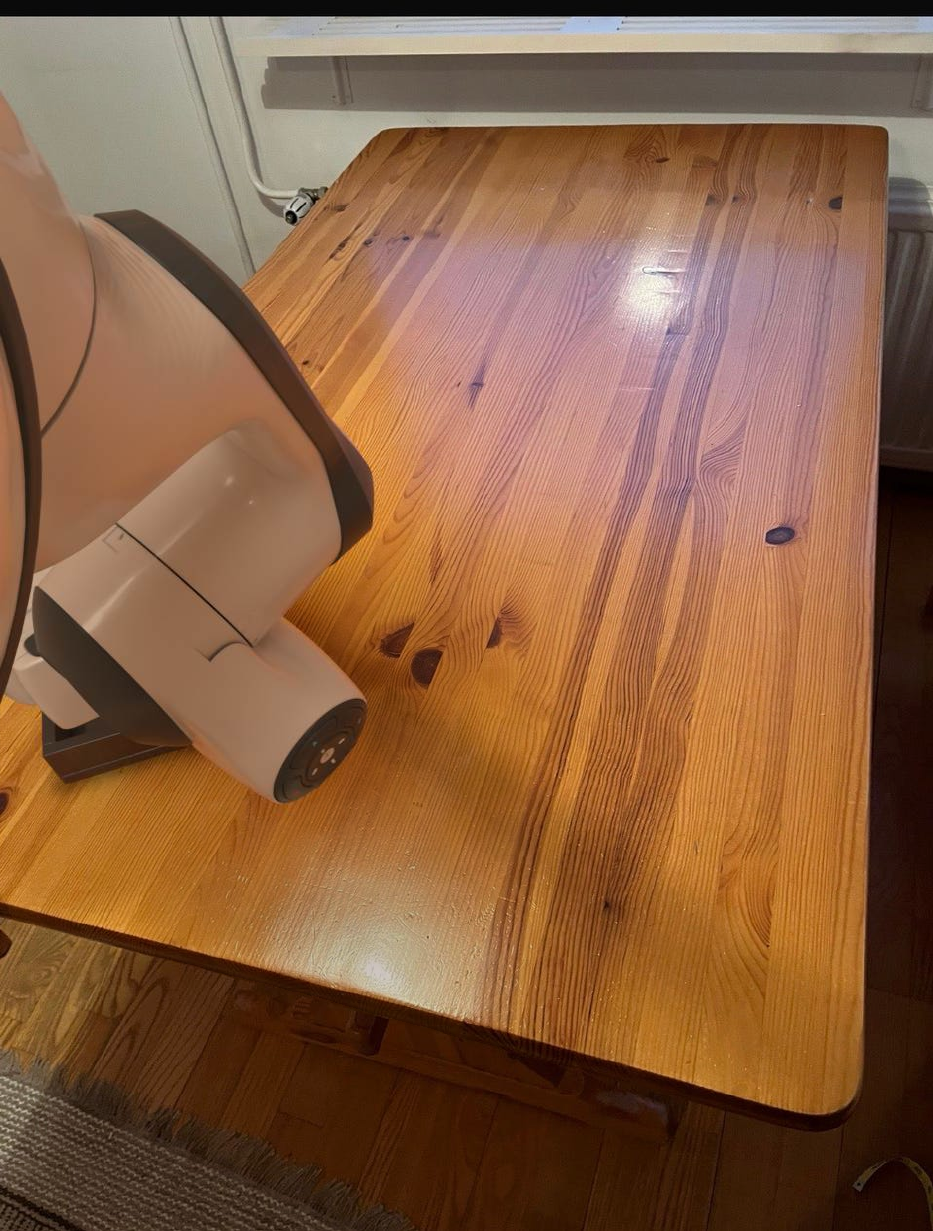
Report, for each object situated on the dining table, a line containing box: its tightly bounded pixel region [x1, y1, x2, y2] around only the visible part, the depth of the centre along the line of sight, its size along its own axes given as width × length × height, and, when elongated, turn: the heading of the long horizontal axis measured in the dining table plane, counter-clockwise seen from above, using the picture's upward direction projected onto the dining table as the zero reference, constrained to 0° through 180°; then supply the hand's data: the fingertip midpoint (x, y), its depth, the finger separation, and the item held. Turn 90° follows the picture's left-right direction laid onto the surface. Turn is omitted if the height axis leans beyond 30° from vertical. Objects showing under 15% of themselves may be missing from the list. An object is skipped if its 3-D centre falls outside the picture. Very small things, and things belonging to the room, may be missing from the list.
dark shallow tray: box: [41, 711, 192, 785], centre depth 75 cm, size 18×13×4 cm
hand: (50, 519), depth 64 cm, fingers closed on beverage can, 5 cm apart
